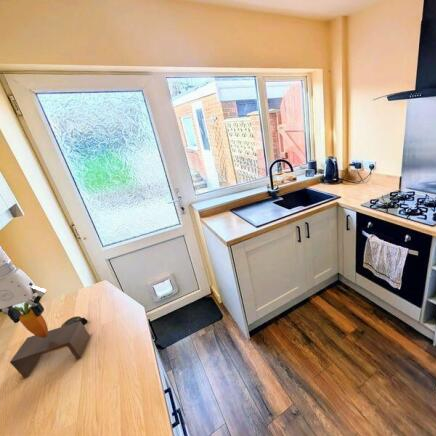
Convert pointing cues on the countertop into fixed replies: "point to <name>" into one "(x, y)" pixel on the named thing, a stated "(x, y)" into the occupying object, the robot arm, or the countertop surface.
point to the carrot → (33, 321)
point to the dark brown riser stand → (50, 346)
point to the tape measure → (74, 321)
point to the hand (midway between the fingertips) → (29, 316)
